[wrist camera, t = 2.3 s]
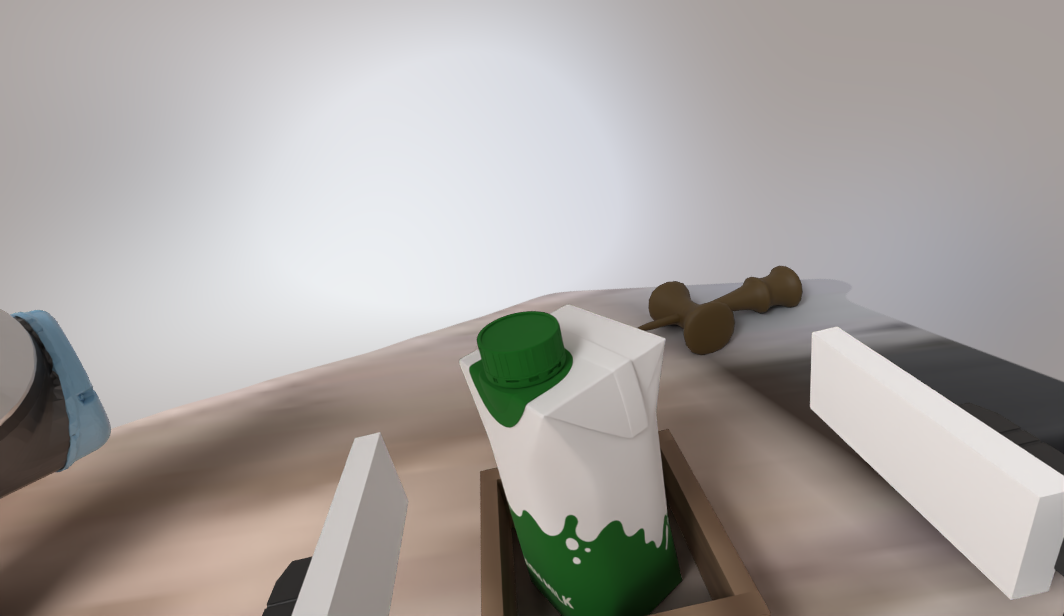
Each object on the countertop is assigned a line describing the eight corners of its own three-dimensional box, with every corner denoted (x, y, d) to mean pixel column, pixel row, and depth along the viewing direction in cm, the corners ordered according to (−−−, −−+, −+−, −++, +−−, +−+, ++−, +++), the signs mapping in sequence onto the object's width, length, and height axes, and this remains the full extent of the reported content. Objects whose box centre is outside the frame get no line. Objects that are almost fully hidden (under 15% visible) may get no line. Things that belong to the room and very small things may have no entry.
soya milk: (513, 582, 34) (432, 326, 26) (607, 505, 39) (564, 264, 30) (603, 687, 28) (532, 386, 19) (705, 579, 32) (684, 296, 24)
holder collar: (504, 734, 26) (481, 678, 24) (495, 519, 40) (480, 471, 38) (770, 673, 27) (770, 612, 25) (673, 479, 40) (668, 428, 38)
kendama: (820, 322, 57) (660, 372, 53) (762, 295, 65) (621, 336, 62) (823, 272, 54) (656, 321, 51) (762, 251, 63) (616, 292, 60)
